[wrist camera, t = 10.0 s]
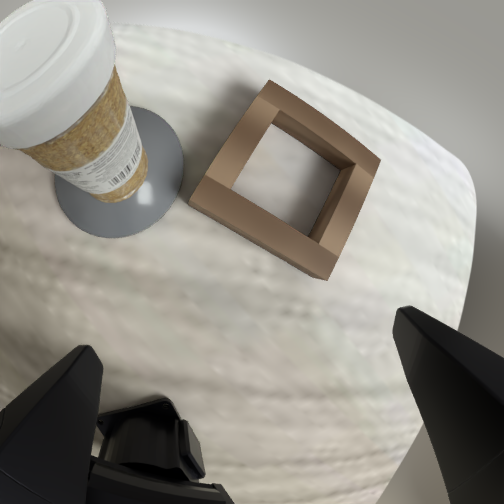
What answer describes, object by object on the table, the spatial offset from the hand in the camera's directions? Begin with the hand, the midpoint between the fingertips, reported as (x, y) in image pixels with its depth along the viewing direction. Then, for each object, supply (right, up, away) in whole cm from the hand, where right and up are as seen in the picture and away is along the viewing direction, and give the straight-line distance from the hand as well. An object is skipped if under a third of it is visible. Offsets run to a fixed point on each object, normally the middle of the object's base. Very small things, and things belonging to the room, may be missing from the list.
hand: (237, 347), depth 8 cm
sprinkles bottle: (-8, +8, +9) cm, 15 cm away
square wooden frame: (+3, +7, +13) cm, 15 cm away
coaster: (-8, +8, +10) cm, 15 cm away
